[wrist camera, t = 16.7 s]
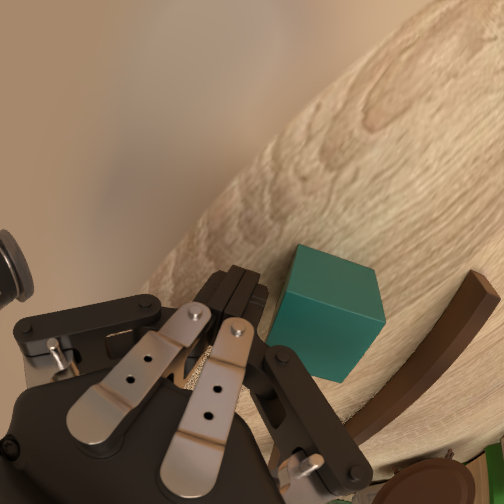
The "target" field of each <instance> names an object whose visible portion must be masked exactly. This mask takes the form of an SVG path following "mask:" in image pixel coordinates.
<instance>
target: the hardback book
mask: <svg viewBox="0 0 504 504" xmlns="http://www.w3.org/2000/svg"><path fill="white" fill-rule="evenodd" d="M462 464H463V465H465V466H466V467H467V468H468V469H469V470H470V472H471V474H472V475H473V478H474V481H475V488H476V494H475V500H474V504H504V457H503V451H502V445H501V443H499V444H494V445H489V446H487V447H486V448H485V453H484V454H483V455H481V456H480V457H478V458H477V459H475V460H474V461H472V462H467V463H462Z"/></svg>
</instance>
